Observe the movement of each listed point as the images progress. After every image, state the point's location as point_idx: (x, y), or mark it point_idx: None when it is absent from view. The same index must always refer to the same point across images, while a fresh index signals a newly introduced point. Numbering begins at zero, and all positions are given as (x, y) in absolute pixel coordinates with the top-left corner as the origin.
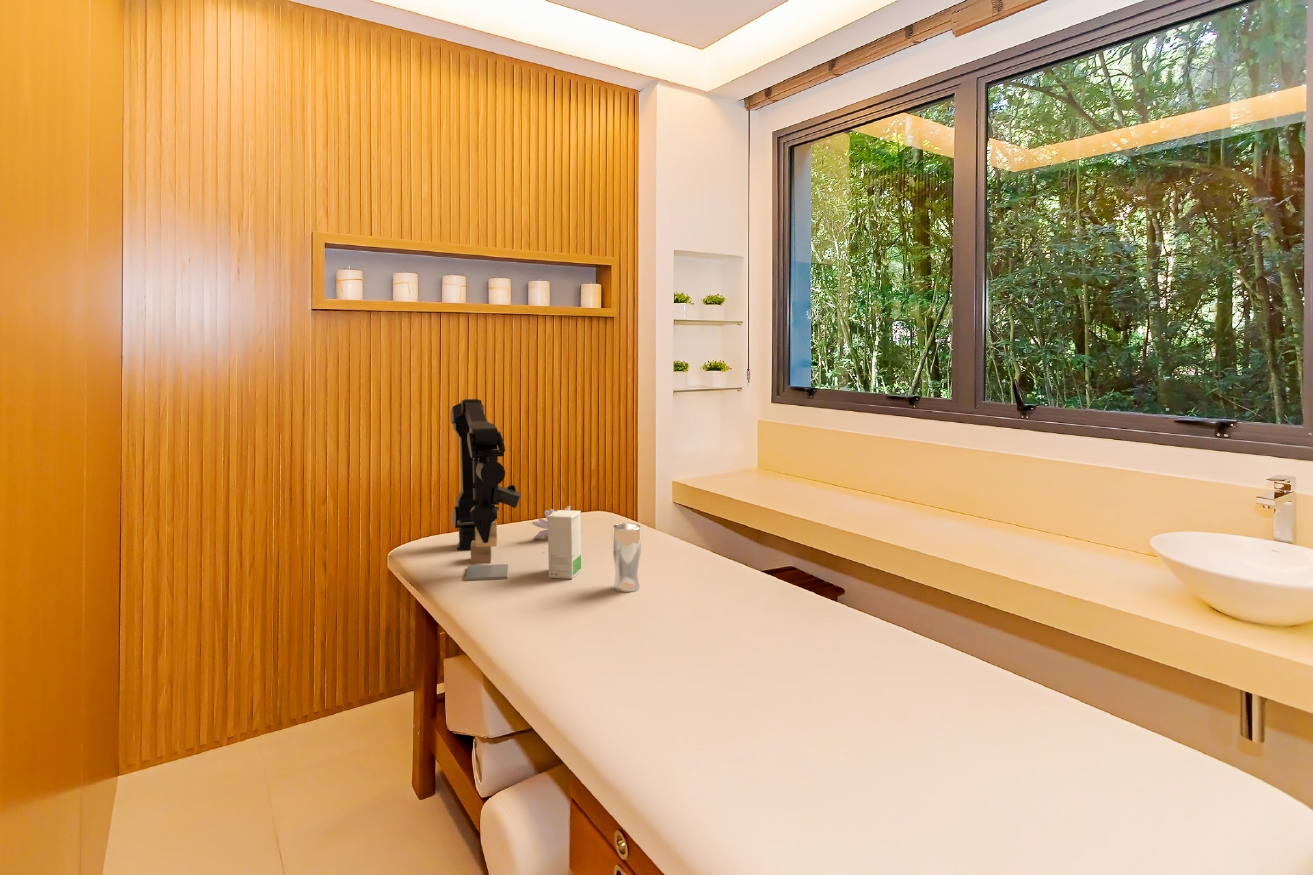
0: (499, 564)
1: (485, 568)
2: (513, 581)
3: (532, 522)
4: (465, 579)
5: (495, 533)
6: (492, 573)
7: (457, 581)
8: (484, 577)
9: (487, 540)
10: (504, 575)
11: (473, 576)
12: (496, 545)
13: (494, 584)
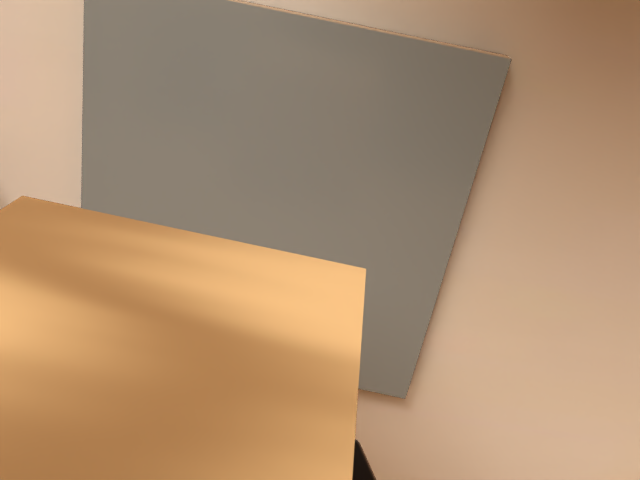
0: (83, 63)
1: (185, 212)
2: (625, 3)
3: None
4: (405, 388)
5: (354, 444)
6: (358, 179)
7: (397, 428)
8: (445, 263)
9: (365, 474)
10: (468, 78)
11: (382, 336)
12: (363, 275)
13: (615, 198)
